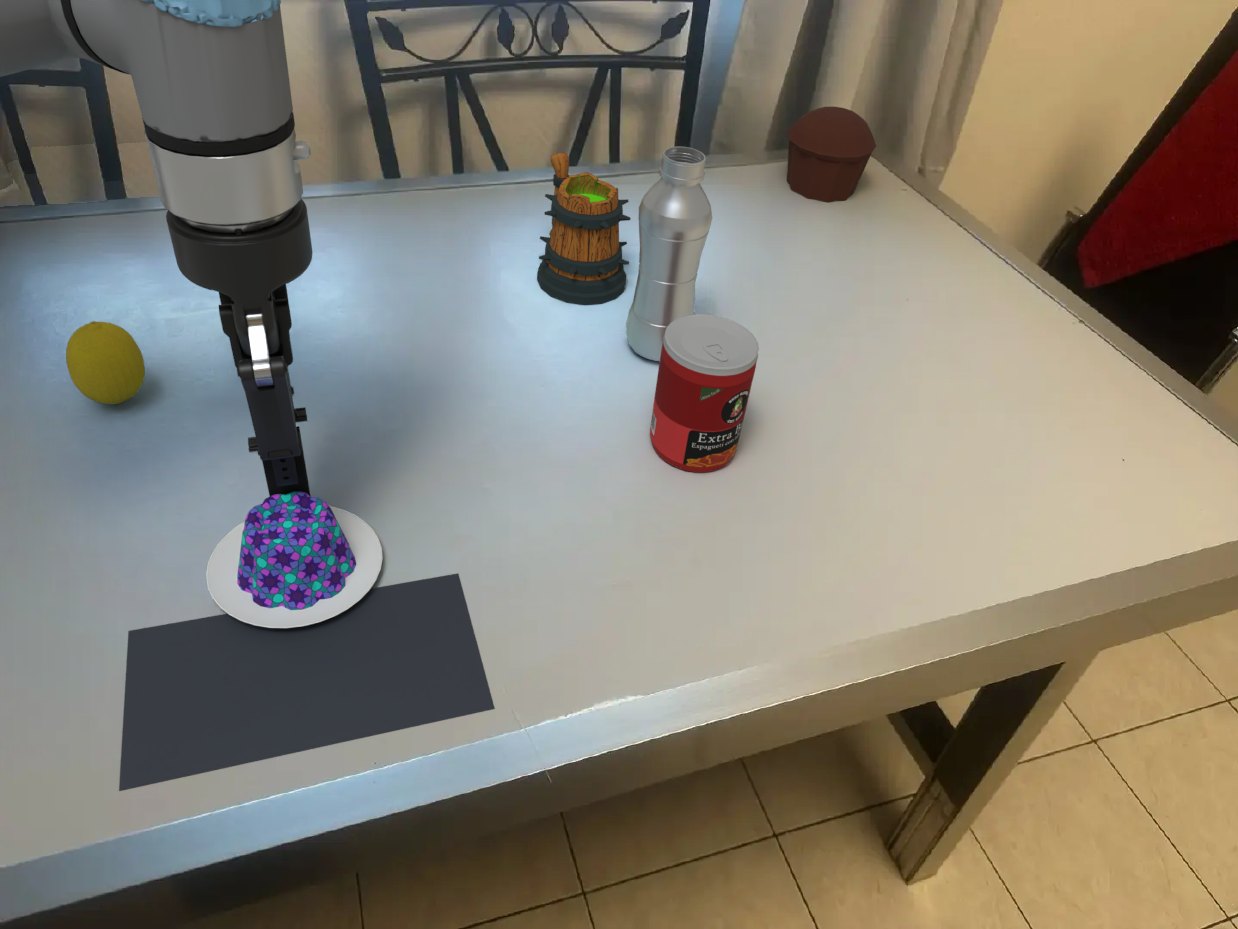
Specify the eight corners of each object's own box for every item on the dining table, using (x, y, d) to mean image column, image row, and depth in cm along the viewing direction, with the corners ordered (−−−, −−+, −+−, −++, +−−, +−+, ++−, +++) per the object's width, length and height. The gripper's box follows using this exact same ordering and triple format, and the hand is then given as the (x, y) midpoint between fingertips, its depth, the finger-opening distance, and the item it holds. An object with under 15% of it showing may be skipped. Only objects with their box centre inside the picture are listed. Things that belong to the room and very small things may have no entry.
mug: (645, 296, 101) (658, 194, 94) (558, 313, 97) (564, 208, 90) (591, 239, 110) (599, 142, 102) (509, 253, 105) (510, 152, 98)
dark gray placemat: (119, 791, 55) (118, 791, 55) (128, 631, 63) (128, 630, 63) (494, 709, 61) (494, 708, 61) (458, 574, 70) (458, 573, 70)
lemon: (78, 426, 78) (49, 345, 72) (86, 386, 82) (59, 306, 76) (152, 419, 79) (128, 339, 74) (156, 380, 83) (134, 301, 78)
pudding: (379, 630, 65) (374, 579, 62) (193, 640, 63) (176, 587, 60) (386, 508, 74) (381, 457, 71) (223, 513, 72) (210, 461, 69)
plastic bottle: (680, 377, 91) (713, 178, 78) (613, 358, 92) (635, 160, 79) (698, 342, 96) (732, 150, 82) (634, 325, 97) (658, 133, 84)
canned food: (691, 487, 79) (711, 380, 72) (629, 435, 83) (643, 329, 76) (755, 454, 83) (780, 349, 76) (693, 406, 88) (711, 303, 80)
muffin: (817, 162, 132) (834, 89, 126) (880, 193, 127) (901, 119, 120) (758, 180, 126) (773, 104, 120) (822, 214, 120) (841, 137, 114)
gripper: (315, 254, 50) (355, 559, 66) (296, 150, 59) (335, 440, 75) (161, 265, 48) (240, 578, 64) (165, 156, 57) (234, 453, 73)
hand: (292, 503), depth 69 cm, fingers closed
